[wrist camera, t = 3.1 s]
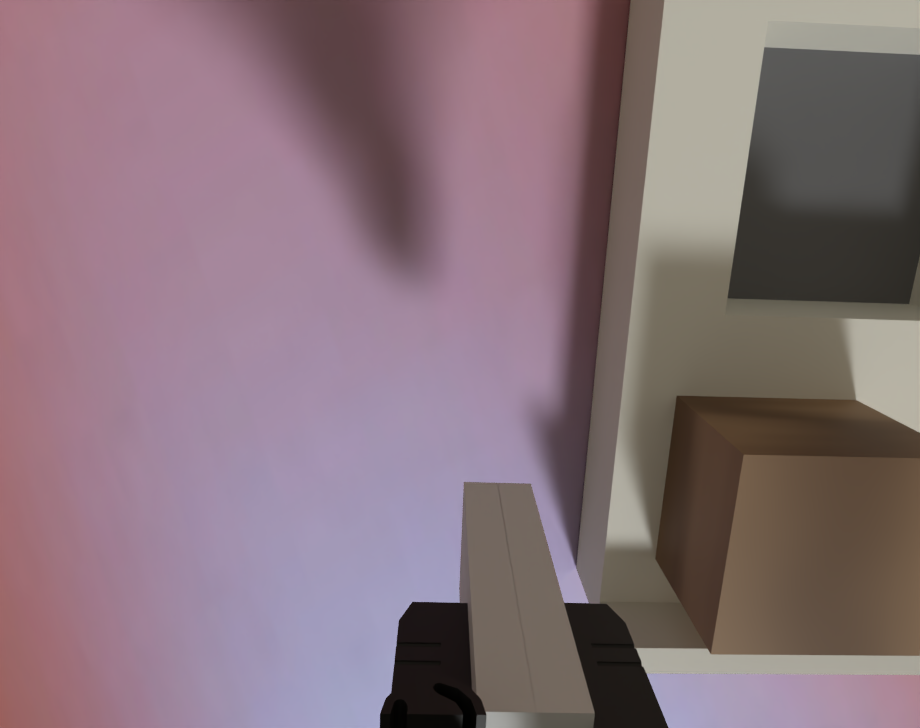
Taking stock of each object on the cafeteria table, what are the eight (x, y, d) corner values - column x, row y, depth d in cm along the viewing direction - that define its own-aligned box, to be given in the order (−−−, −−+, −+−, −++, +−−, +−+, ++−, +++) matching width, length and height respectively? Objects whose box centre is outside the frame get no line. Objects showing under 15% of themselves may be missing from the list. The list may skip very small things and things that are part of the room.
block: (655, 558, 19) (710, 654, 15) (676, 395, 18) (743, 454, 14) (822, 561, 19) (919, 655, 15) (856, 399, 18) (971, 459, 14)
